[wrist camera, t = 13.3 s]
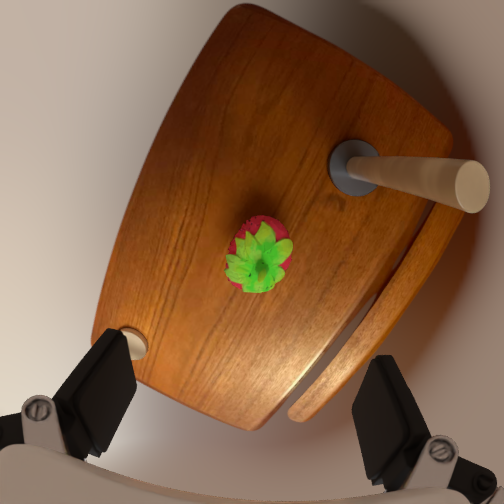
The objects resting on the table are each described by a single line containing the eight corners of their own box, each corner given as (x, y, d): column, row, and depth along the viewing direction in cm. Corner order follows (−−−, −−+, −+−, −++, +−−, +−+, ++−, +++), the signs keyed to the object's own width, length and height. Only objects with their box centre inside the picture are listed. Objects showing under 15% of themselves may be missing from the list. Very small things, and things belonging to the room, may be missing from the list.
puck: (114, 324, 37) (111, 328, 36) (146, 330, 36) (143, 334, 35) (120, 352, 38) (117, 356, 37) (150, 358, 38) (147, 363, 37)
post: (330, 136, 28) (427, 103, 9) (381, 145, 28) (515, 142, 9) (324, 191, 30) (411, 244, 11) (376, 198, 30) (499, 256, 11)
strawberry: (302, 227, 31) (317, 257, 22) (263, 280, 33) (261, 327, 24) (257, 197, 30) (252, 214, 21) (220, 252, 32) (201, 291, 23)
